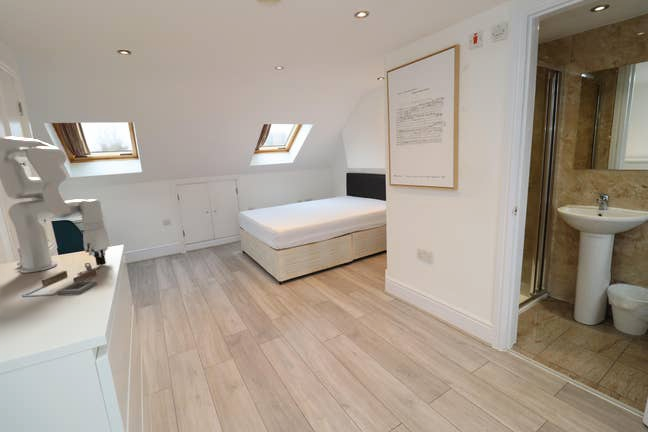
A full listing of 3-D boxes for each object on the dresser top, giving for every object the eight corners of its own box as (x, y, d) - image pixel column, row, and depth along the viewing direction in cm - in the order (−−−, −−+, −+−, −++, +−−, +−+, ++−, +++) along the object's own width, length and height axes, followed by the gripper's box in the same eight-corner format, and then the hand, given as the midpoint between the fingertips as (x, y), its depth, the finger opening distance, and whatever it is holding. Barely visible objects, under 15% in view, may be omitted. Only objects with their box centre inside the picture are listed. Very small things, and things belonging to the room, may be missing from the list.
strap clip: (82, 276, 129) (80, 266, 128) (76, 275, 130) (74, 266, 129) (101, 269, 137) (99, 260, 136) (96, 268, 138) (94, 259, 137)
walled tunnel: (42, 285, 119) (41, 279, 118) (64, 276, 128) (62, 270, 128) (78, 284, 119) (76, 278, 118) (96, 274, 128) (95, 269, 128)
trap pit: (57, 295, 109) (56, 291, 109) (77, 285, 118) (76, 281, 117) (79, 294, 109) (78, 290, 109) (97, 284, 118) (97, 280, 117)
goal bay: (19, 297, 109) (19, 296, 109) (42, 286, 118) (42, 286, 118) (52, 295, 109) (52, 294, 109) (73, 285, 118) (73, 284, 118)
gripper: (97, 223, 145) (104, 259, 148) (72, 230, 130) (80, 270, 133) (113, 222, 145) (119, 259, 148) (90, 229, 130) (97, 269, 133)
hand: (101, 264), depth 141 cm, fingers closed
